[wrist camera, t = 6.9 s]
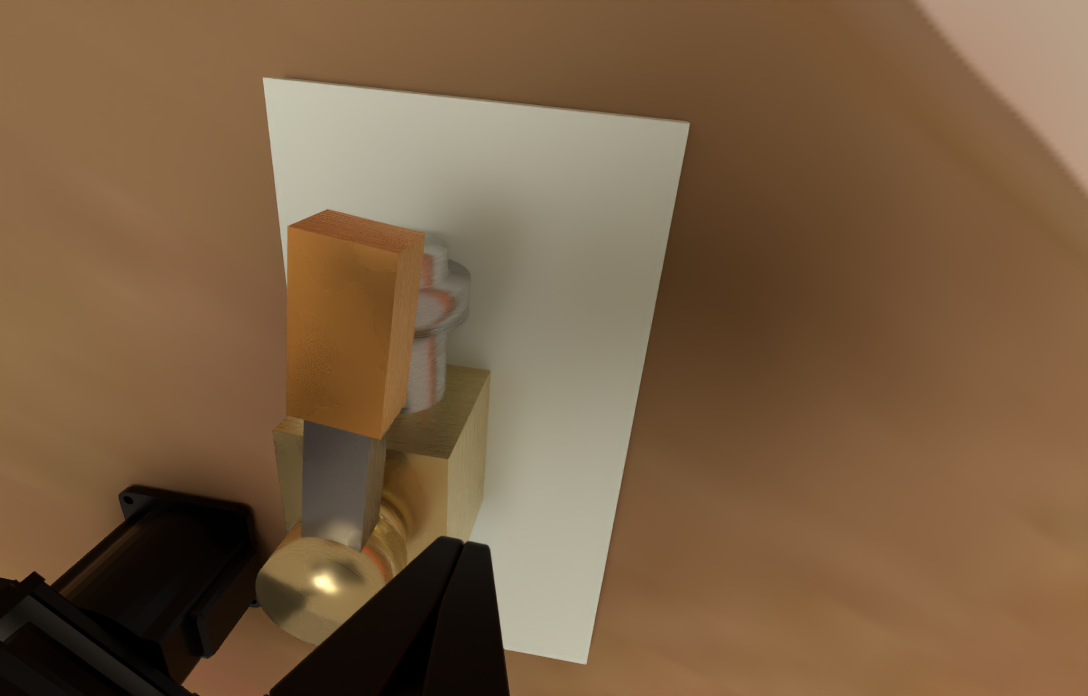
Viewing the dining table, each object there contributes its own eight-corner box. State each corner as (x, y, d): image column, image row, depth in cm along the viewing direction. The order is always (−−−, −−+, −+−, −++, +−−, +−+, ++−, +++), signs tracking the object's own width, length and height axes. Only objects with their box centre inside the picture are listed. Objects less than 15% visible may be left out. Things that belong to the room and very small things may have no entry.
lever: (401, 600, 17) (375, 661, 15) (294, 572, 17) (256, 629, 15) (452, 240, 12) (422, 267, 10) (301, 202, 12) (245, 223, 10)
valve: (478, 584, 25) (437, 719, 20) (367, 564, 26) (299, 692, 20) (498, 236, 18) (444, 300, 13) (345, 216, 19) (233, 270, 13)
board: (335, 595, 29) (324, 615, 28) (284, 77, 18) (262, 77, 17) (587, 641, 28) (586, 664, 27) (686, 120, 17) (690, 123, 16)
